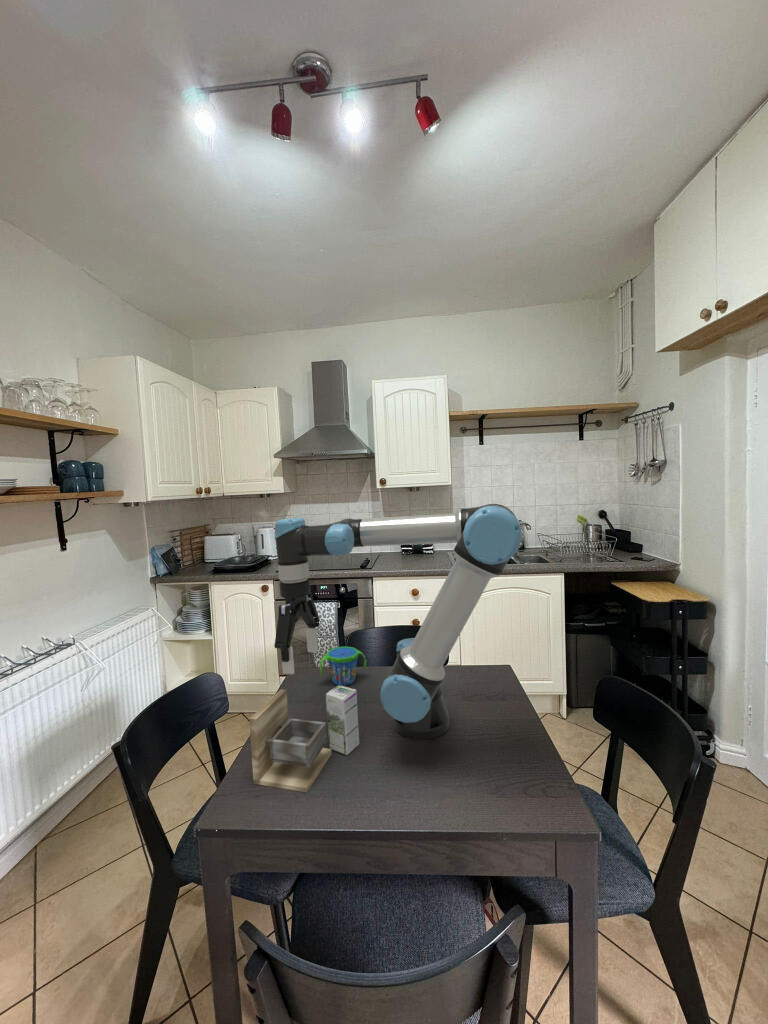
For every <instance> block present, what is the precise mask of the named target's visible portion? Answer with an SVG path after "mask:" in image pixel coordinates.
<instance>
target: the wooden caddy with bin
mask: <svg viewBox="0 0 768 1024" xmlns="http://www.w3.org/2000/svg"><path fill="white" fill-rule="evenodd" d="M288 709H289V708H288V694H287V689H282V688H281V689H279V690H278V691H277V692H276V693H274V695H273V696H272V697H271V698H270V699H269V700H268V701H267V702H266V703H264V704H263V705H262V706H261V707H260V708H259V709H258V710H257V711H256V712H255V713H254V714H253V715H252V716H251V717H250V718H248V719H249V720H248V721H249V733H250V734H249V735H250V749H251V763H252V779H253V784H254V785H260V786H266V787H271V788H277V789H282V790H283V789H284V790H288V791H289V790H290V791H296V792H301V793H308V791H309V790H310V788H311V787H312V786H313V783H314V782H315V781H316V779H317V778H318V776H319V774H320V773H321V771H322V769H323V768H324V766H325V765H326V763H327V762H328V760H329V758H330V757H331V755H332V753H333V750H332V749H329V748H325V746H326V744H327V742H328V730H327V721H326V722H324V721H318V720H317V721H316V720H306V719H299V718H291V717H290V718H289V710H288Z"/></svg>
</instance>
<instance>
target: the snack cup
mask: <svg viewBox="0 0 768 1024" xmlns="http://www.w3.org/2000/svg"><path fill="white" fill-rule="evenodd" d="M359 655H361V656H362V657H363V661H362V662H363V664H362V668H363V669H364V670H366V669H367V659H366V656H365V655H364V653H363V652H362V651H360V650H358V649H357V648H356V647H352V646H338V647H334V648H332V649H329V650H328V651H327V652H326V654H325V655H324V656H322V658H321V660H320V663H319V673H320V675H321V677H323V676H324V674H323V663H324V662H325V661H326V660H328V666H329V671H330V676H331V680H332V684H334V685H335V686H339V685H340V686H344V687H346V686H348V685H352V684H353V683H354V682H355V680H356V675H357V674H356V673H357V666H358V665H357V664H358V658H359Z"/></svg>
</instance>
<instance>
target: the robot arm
mask: <svg viewBox="0 0 768 1024" xmlns="http://www.w3.org/2000/svg"><path fill="white" fill-rule="evenodd" d="M522 533H523V532H522V528H521V523H520V521H519V520H518V518H517V516H516V515H515V513H514V512H513V511H512V510H511V509H509V507H507V506H505V505H502V504H499V503H488V504H484V505H480V506H476V507H469V508H459V509H458V511H457V512H454V513H452V512H451V513H450V512H449V513H436V514H421V515H405V516H404V515H403V516H389V517H387V516H386V517H372V518H362V519H361V518H357V519H355V518H345V519H342V520H340V521H336V522H332V523H331V522H330V523H328V524H319V525H306V521H305V519H304V518H302V517H291V518H284V519H283V518H282V519H278V520H277V521H275V523H274V540H275V547H276V556H277V558H276V559H277V566H278V567H277V571H278V579H279V581H280V582H279V594H280V597H281V598H284V599H285V604H283V605H278V618H277V624H276V632H275V640H274V645H273V646H274V649H280V655H281V668H282V675H294V674H295V673H296V672H295V663H294V662H295V661H294V649H293V646H291V645H292V640H293V636H294V632H295V628H296V623H297V622H298V621H299V618H300V617H301V618H302V620H303V622H304V623H305V625H306V626H307V627H306V628H305V635H306V647H307V653H318V652H319V648H318V647H319V646H318V636H317V635H318V634H317V633H318V631H317V627H318V628H319V627H320V625H321V623H320V620H321V619H320V616H319V613H318V611H317V607H316V605H315V604H316V603H315V602H314V597H313V592H311V580H310V579H309V577H310V568H309V559H308V557H313V556H314V557H315V556H320V557H321V556H335V557H338V556H342V555H343V556H344V555H349V554H351V553H352V551H353V550H354V548H364V547H378V546H379V547H381V546H383V547H385V546H405V545H406V546H407V545H408V546H409V545H430V544H431V545H432V544H433V545H434V544H437V545H438V544H456V545H455V547H454V548H453V554H454V557H455V561H454V563H453V565H452V567H451V569H450V571H449V572H448V574H447V577H446V579H445V580H444V582H443V584H442V586H441V588H440V590H439V591H438V594H437V596H436V597H435V599H434V601H433V603H432V605H431V607H430V608H429V610H428V612H427V614H426V616H425V617H424V619H423V622H422V624H421V625H420V628H419V630H418V632H417V633H416V635H415V637H411V638H409V637H408V638H403V639H401V640H399V641H398V642H397V644H396V650H395V651H396V659H395V661H394V664H393V665H392V667H391V669H390V671H389V673H388V674H387V677H386V678H385V679H384V680H383V682H382V684H381V689H380V694H379V695H380V696H379V697H380V701H381V704H382V707H383V709H384V710H385V711H386V713H387V714H388V715H389V716H390V717H392V719H393V729H394V730H395V732H397V733H398V734H399V735H401V736H403V737H404V738H408V739H413V740H420V741H421V740H422V741H423V740H432V739H436V738H438V737H441V736H442V735H444V734H445V733H447V731H448V730H449V728H450V715H449V712H448V708H447V707H446V703H445V700H444V698H443V693H442V692H443V691H442V690H443V689H442V686H443V685H442V684H443V683H442V682H443V680H444V679H445V676H446V671H445V668H444V665H445V663H446V661H447V659H448V657H449V655H450V653H451V651H452V649H454V646H455V644H456V642H457V641H458V639H459V637H460V635H461V633H462V631H463V630H464V628H465V626H466V624H467V623H468V621H469V619H470V617H471V615H472V613H473V611H474V610H475V608H476V606H477V604H478V603H479V601H480V598H481V597H482V595H483V593H484V591H485V589H486V587H487V586H488V584H489V582H490V580H492V578H493V579H495V578H497V577H500V576H501V575H502V573H503V571H504V570H505V568H506V566H507V564H508V562H509V560H510V559H511V558H512V557H513V556H514V555H515V554H516V553H517V552H518V551H519V549H520V546H521V543H522V538H523V537H522V535H523V534H522Z"/></svg>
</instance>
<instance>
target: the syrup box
mask: <svg viewBox="0 0 768 1024" xmlns="http://www.w3.org/2000/svg"><path fill="white" fill-rule="evenodd" d="M325 702H326V703H325V704H326V705H325V706H326V718H327V720H326V724H327V740H328V749H332V752H333V751H334V752H337V753H339V754H342V755H345V756H348V755H349V754H350V753H351V752H353V750H355V749H356V748H357V747H358V746H359V745H360V732H359V714H358V695H357V689H355V688H351V687H347V686H340V685H336V686H335V687H333V688H332V689H331V690H329V691H328V692H327V693H325Z"/></svg>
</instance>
